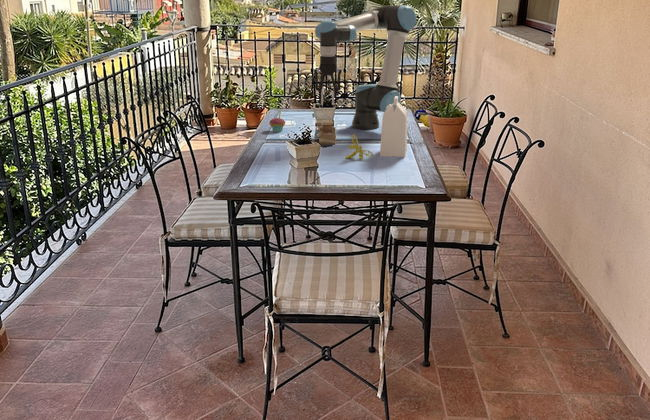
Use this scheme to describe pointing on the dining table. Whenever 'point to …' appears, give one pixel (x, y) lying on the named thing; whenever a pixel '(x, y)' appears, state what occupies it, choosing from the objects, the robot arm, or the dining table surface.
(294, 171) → the dining table surface
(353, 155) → the decorative insect
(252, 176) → the dining table surface
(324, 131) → the walnut bar
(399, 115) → the milk
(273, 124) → the cupcake
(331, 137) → the birch cradle
